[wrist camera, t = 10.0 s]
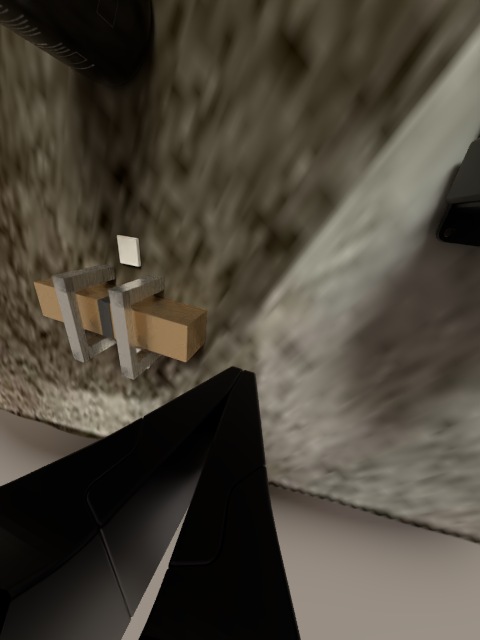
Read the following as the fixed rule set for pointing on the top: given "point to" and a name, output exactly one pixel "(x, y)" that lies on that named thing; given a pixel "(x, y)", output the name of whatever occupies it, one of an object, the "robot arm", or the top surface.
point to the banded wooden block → (135, 319)
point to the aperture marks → (129, 255)
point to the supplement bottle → (85, 33)
